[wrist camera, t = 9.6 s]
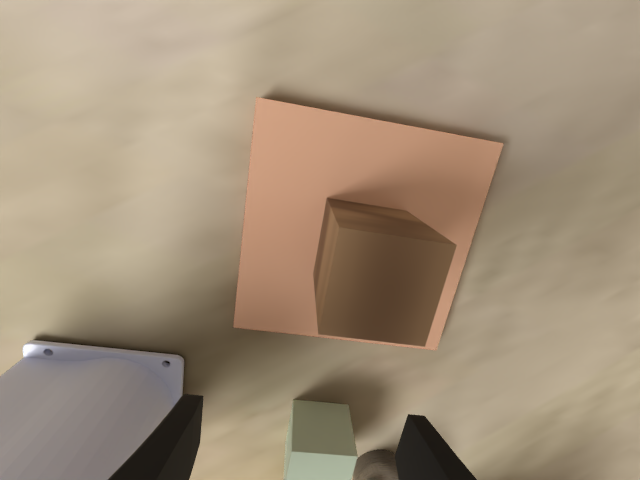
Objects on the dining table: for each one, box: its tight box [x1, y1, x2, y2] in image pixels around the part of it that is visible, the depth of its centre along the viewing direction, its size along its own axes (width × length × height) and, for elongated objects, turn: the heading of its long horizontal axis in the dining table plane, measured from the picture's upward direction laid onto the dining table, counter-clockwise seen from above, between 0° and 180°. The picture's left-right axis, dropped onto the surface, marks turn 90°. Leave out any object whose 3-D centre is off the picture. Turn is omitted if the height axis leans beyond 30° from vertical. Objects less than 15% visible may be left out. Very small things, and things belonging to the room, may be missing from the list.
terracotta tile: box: [233, 97, 504, 350], centre depth 18 cm, size 13×13×1 cm
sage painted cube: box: [284, 399, 358, 480], centre depth 21 cm, size 4×4×4 cm
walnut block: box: [313, 198, 457, 347], centre depth 15 cm, size 4×4×6 cm
